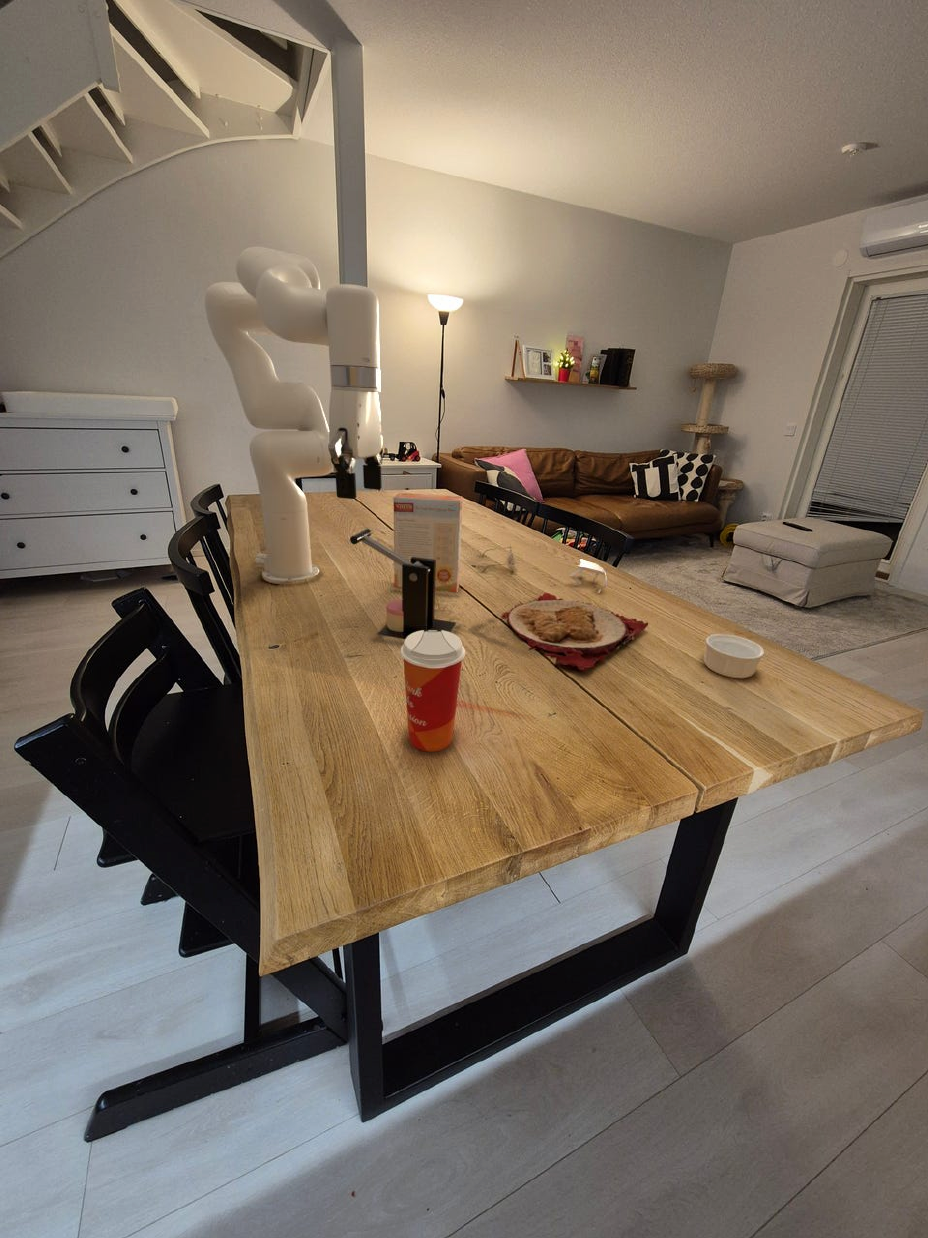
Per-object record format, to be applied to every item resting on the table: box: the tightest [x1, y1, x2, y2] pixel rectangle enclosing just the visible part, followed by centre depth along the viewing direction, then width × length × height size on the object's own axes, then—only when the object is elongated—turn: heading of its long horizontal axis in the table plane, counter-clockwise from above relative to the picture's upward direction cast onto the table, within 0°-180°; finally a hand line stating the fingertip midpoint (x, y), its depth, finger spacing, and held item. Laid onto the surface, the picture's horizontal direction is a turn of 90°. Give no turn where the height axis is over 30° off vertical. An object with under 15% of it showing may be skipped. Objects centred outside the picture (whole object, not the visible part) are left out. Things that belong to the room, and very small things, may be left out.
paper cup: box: [400, 630, 466, 753], centre depth 62 cm, size 8×8×14 cm
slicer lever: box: [349, 528, 431, 574], centre depth 87 cm, size 14×6×2 cm, turn 75°
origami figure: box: [568, 559, 608, 594], centre depth 119 cm, size 12×8×5 cm
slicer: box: [377, 557, 458, 640], centre depth 89 cm, size 12×10×14 cm
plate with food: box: [492, 592, 650, 671], centre depth 96 cm, size 24×26×3 cm
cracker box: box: [392, 492, 463, 593], centre depth 109 cm, size 14×6×21 cm, turn 84°
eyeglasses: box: [481, 545, 515, 573], centre depth 131 cm, size 14×8×4 cm, turn 179°
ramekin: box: [703, 633, 765, 679], centre depth 85 cm, size 9×9×4 cm
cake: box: [385, 599, 403, 632], centre depth 92 cm, size 6×6×4 cm
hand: (360, 493), depth 84 cm, fingers open, 9 cm apart
